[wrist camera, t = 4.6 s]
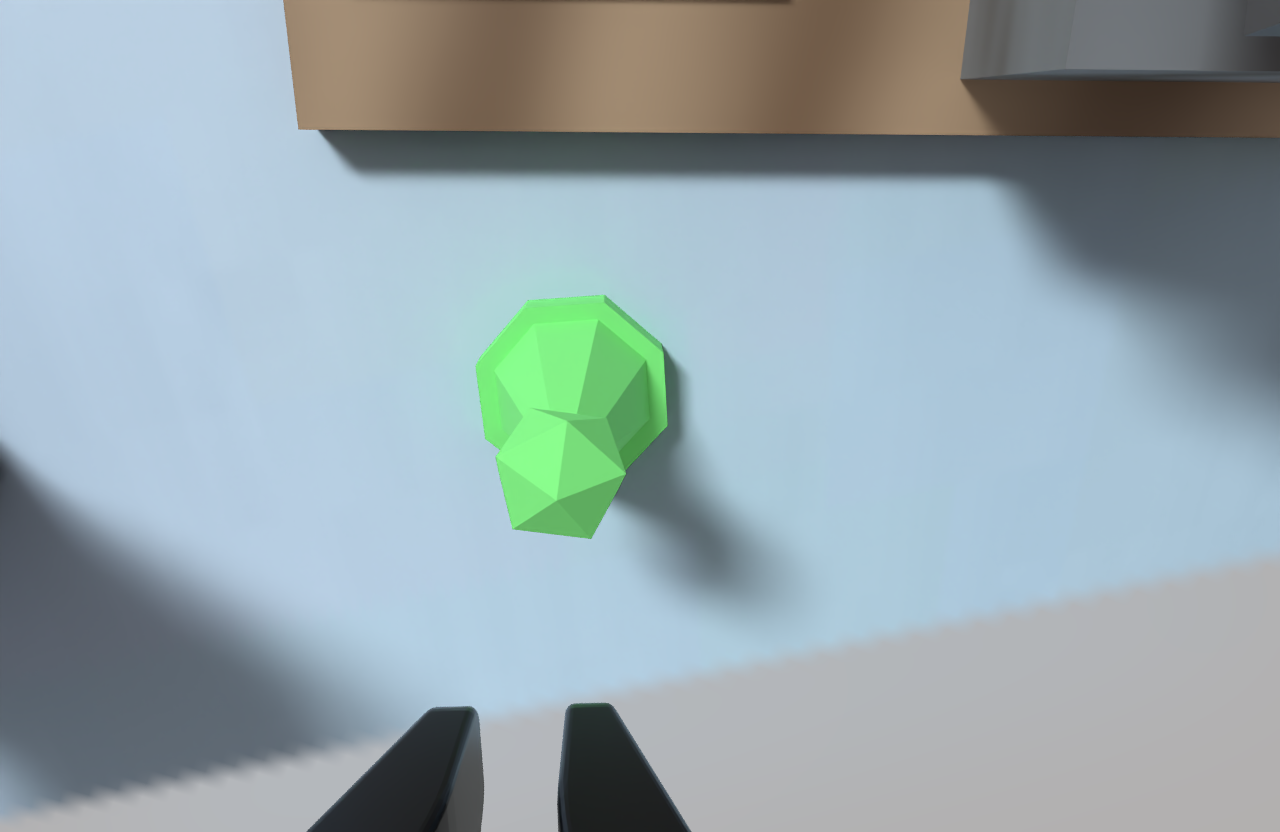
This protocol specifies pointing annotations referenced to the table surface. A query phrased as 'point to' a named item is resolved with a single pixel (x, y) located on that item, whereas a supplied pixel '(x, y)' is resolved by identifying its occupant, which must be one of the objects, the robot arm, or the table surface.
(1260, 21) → the breaker rocker
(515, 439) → the game piece
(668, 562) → the table surface
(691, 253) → the table surface
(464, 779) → the robot arm
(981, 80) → the switch board
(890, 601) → the table surface
